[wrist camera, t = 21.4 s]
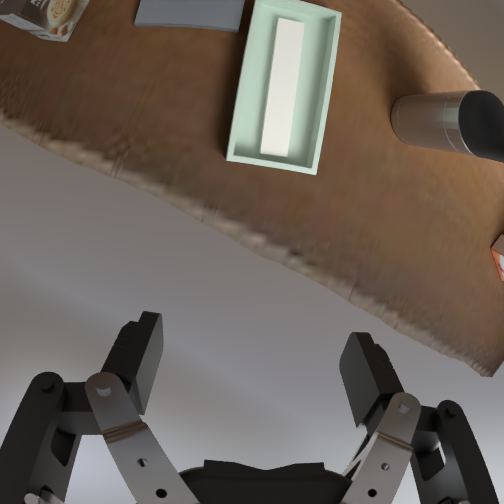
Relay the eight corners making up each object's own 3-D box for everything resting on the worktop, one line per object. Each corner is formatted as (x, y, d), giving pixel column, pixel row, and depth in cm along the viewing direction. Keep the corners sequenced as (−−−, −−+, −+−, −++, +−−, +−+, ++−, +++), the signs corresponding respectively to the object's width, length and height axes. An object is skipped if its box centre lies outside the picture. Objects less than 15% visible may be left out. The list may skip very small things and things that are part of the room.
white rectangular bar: (302, 26, 37) (304, 23, 36) (284, 156, 45) (287, 156, 43) (276, 21, 36) (278, 17, 35) (258, 152, 44) (260, 153, 43)
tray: (332, 20, 37) (341, 12, 34) (308, 171, 47) (315, 175, 43) (254, 1, 35) (257, -9, 32) (225, 158, 44) (226, 160, 41)
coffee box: (68, 42, 33) (18, 16, 19) (42, 39, 32) (-10, 17, 17) (92, -3, 31) (53, -42, 16) (65, -5, 29) (22, -38, 14)
